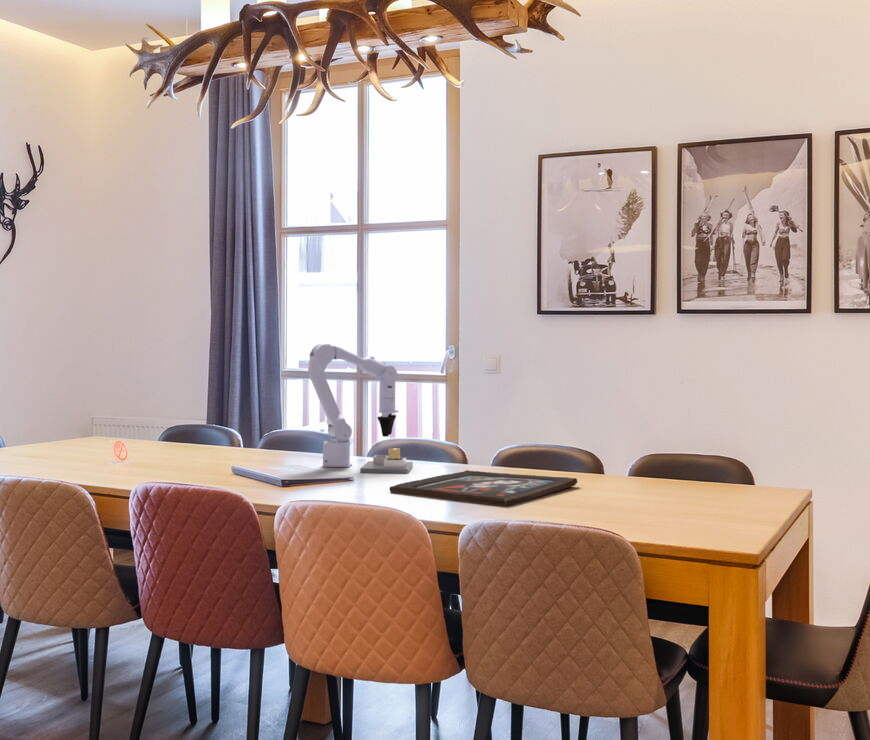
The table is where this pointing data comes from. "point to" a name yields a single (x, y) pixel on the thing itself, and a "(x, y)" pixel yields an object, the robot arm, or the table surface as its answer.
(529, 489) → the religious icon
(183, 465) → the table surface
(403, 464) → the socket plate
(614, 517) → the table surface
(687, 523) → the table surface
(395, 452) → the pipe stub
